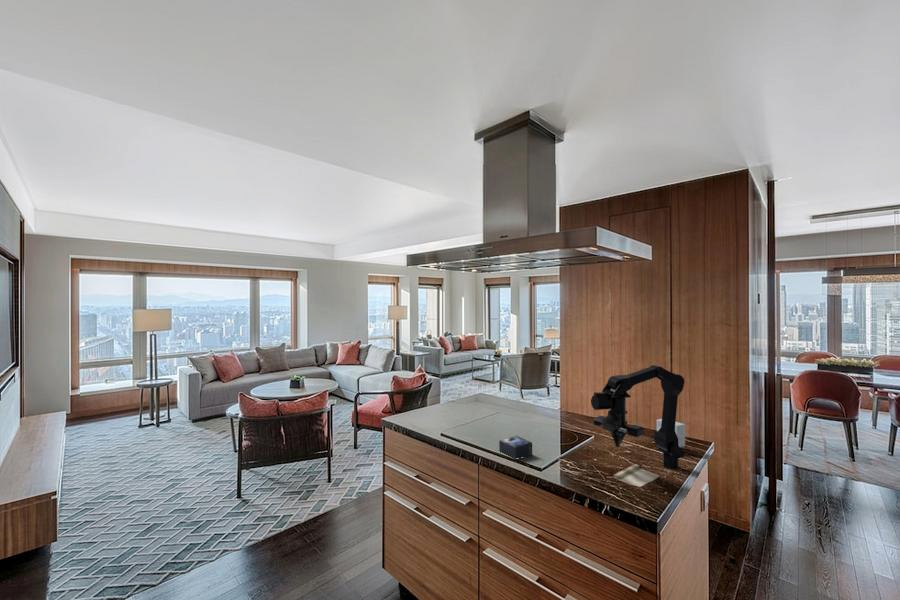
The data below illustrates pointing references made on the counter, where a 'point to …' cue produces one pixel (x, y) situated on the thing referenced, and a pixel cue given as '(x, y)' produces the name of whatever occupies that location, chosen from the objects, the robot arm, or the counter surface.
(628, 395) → the robot arm
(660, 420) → the skincare box
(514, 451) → the small box
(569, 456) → the counter surface
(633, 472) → the board
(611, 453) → the counter surface
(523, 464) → the counter surface
